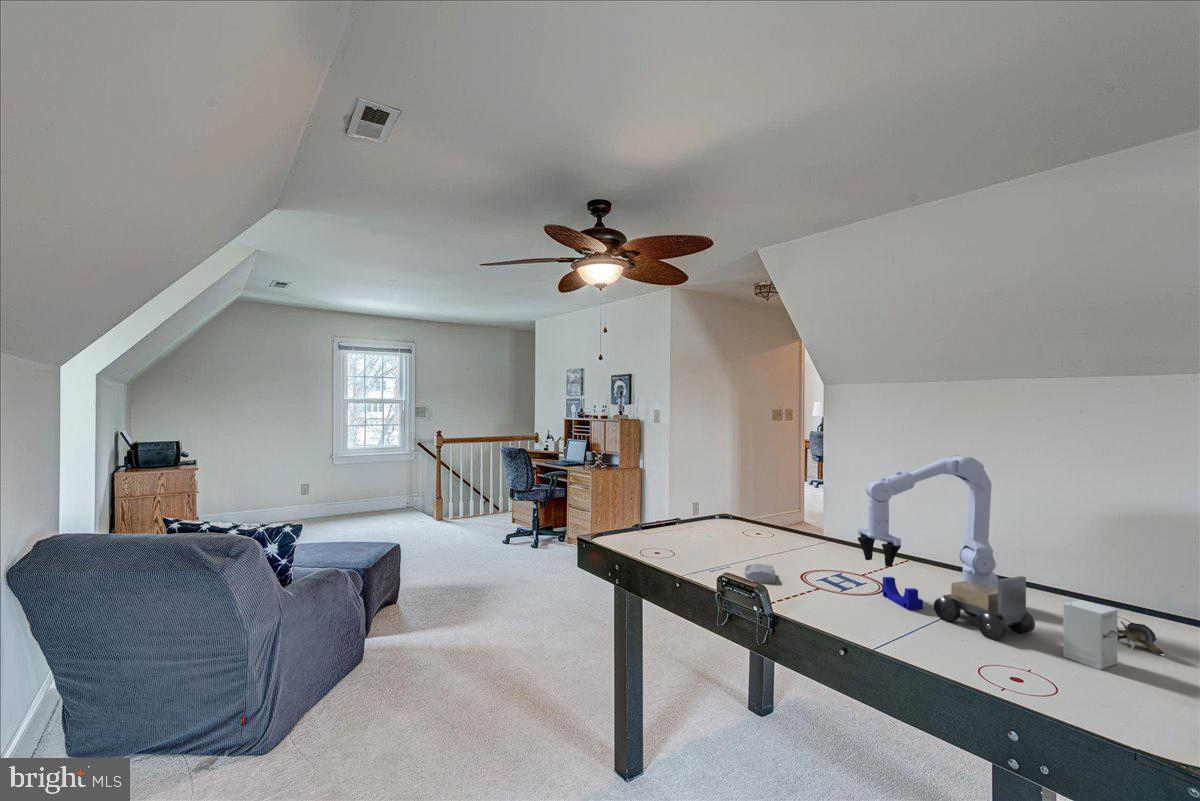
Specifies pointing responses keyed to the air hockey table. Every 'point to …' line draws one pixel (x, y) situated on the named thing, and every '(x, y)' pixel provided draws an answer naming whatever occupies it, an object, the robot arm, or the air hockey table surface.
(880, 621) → the air hockey table surface
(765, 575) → the stone block
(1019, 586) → the trolley
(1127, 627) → the brown animal figurine
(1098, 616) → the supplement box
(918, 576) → the air hockey table surface
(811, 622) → the air hockey table surface
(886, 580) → the cable clip
